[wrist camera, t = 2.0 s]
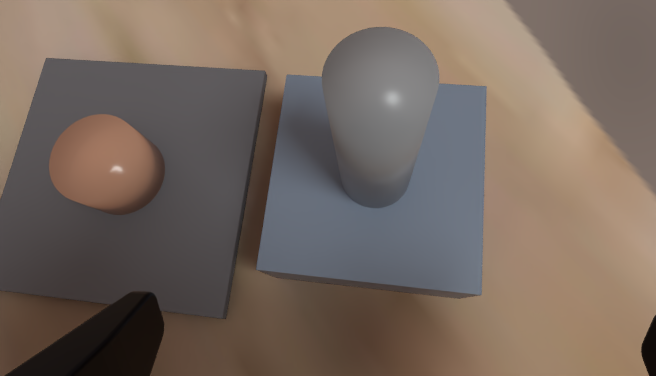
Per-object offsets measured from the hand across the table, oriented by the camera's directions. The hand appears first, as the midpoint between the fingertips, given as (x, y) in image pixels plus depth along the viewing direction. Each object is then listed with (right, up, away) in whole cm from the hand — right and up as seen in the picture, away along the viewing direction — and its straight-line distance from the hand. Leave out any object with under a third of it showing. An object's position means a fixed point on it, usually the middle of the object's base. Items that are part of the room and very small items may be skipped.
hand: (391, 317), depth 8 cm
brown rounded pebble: (-11, +3, +13) cm, 17 cm away
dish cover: (+1, +2, +12) cm, 12 cm away
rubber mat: (-11, +3, +14) cm, 18 cm away
